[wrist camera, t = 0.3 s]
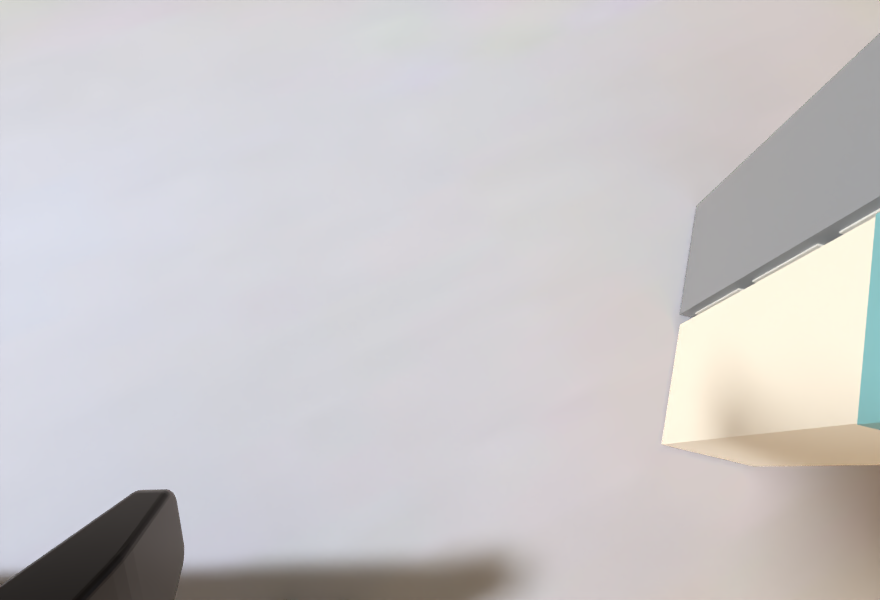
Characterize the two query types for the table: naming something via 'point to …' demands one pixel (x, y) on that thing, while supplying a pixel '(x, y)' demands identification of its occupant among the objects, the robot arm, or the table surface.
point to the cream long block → (787, 364)
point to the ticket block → (792, 189)
